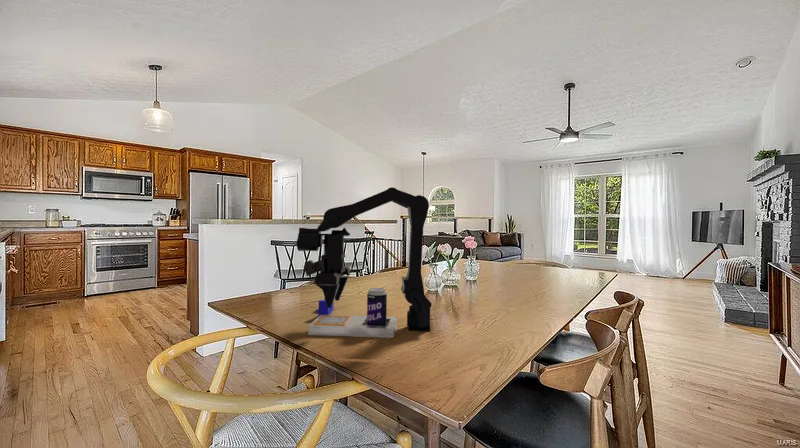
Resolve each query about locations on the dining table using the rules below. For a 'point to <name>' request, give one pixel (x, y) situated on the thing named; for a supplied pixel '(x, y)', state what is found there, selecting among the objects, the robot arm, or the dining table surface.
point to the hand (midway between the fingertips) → (333, 303)
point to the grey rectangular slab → (351, 326)
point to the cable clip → (324, 308)
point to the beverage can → (376, 307)
